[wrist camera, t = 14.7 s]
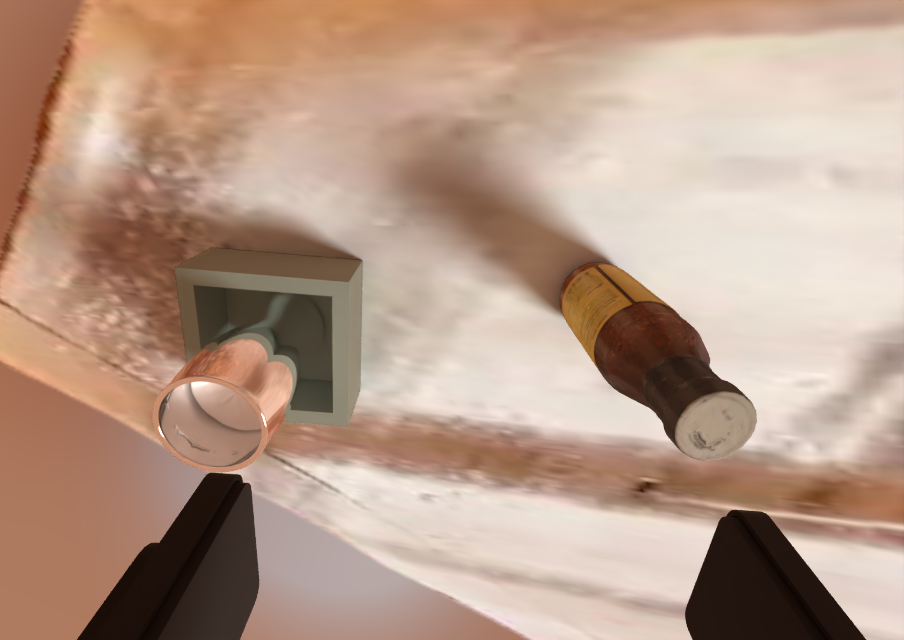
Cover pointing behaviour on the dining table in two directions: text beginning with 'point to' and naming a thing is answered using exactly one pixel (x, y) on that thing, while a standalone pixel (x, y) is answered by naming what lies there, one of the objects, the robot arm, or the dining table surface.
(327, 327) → the box
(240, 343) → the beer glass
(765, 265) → the dining table surface
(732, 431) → the sauce bottle
